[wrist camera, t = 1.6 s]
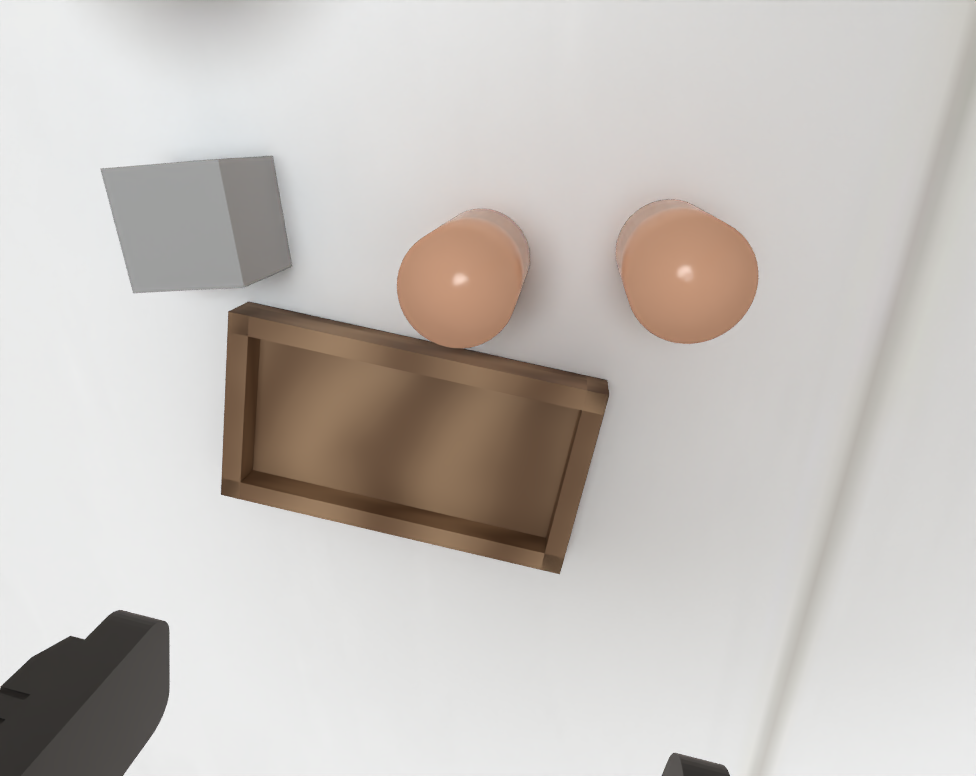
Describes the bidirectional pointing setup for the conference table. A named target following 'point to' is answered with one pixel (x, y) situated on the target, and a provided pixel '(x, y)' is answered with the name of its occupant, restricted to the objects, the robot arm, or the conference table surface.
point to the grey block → (198, 223)
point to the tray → (407, 435)
